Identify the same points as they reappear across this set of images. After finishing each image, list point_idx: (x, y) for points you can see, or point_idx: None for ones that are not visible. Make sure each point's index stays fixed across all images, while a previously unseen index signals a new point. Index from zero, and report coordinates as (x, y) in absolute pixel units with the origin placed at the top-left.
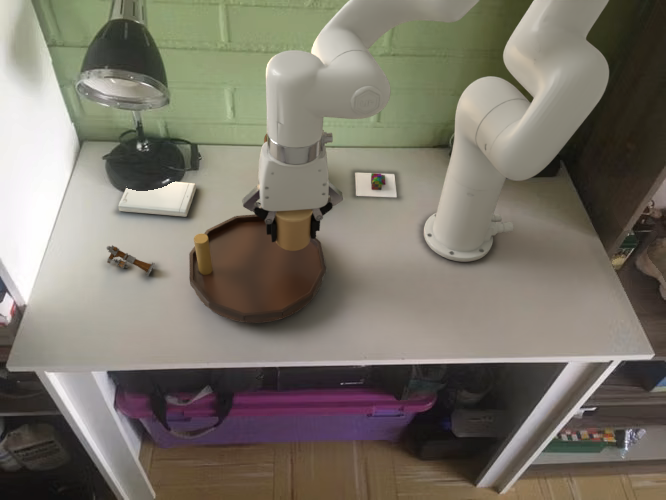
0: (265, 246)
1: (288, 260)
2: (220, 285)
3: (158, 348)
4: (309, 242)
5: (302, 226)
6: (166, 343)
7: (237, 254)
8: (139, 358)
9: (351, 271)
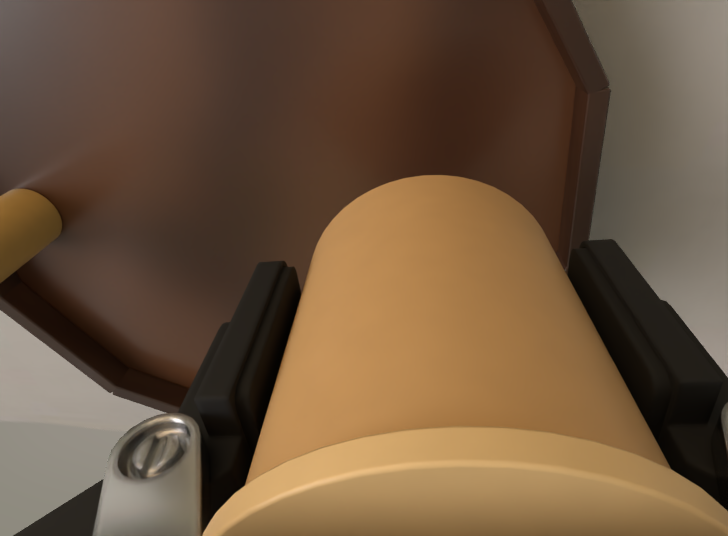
0: (276, 69)
1: (402, 175)
2: (124, 292)
3: (44, 400)
4: (538, 38)
5: None
6: (57, 390)
7: (141, 127)
8: (12, 418)
9: (698, 155)
